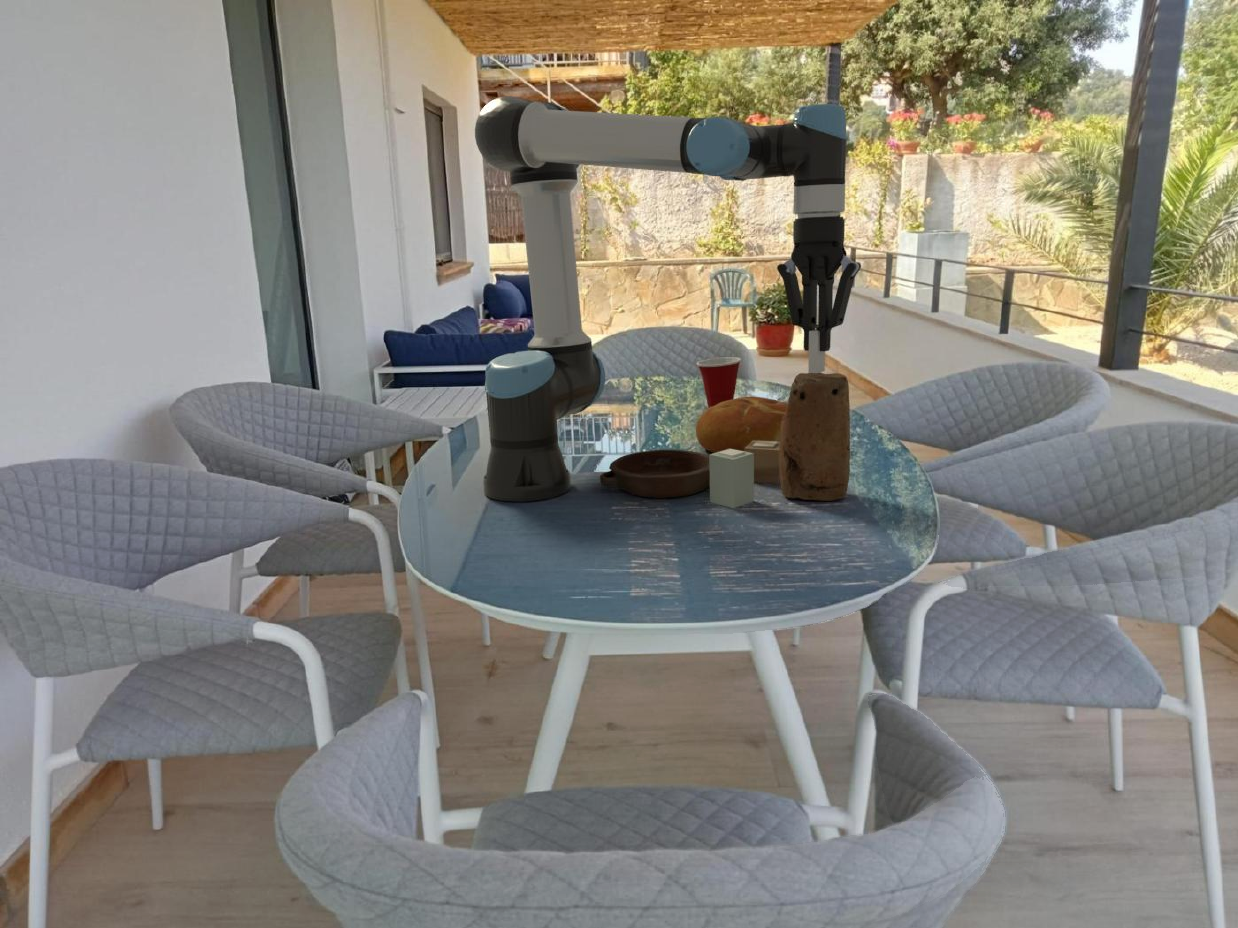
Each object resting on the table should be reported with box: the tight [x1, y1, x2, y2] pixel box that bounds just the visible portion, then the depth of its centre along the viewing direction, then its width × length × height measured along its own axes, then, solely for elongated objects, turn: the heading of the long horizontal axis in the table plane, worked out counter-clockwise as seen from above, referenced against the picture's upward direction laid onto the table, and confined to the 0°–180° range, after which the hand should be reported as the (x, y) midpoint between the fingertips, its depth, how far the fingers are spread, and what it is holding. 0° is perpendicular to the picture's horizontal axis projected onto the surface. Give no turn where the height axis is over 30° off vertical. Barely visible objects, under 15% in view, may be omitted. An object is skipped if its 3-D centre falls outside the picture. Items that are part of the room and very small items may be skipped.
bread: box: [695, 396, 788, 454], centre depth 174 cm, size 23×23×10 cm
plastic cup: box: [696, 356, 742, 409], centre depth 213 cm, size 11×11×12 cm
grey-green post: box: [708, 449, 755, 509], centre depth 141 cm, size 5×5×8 cm
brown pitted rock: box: [779, 372, 851, 502], centre depth 140 cm, size 11×8×20 cm
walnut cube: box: [744, 440, 780, 484], centre depth 153 cm, size 6×6×6 cm
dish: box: [599, 448, 710, 499], centre depth 150 cm, size 18×22×5 cm
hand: (816, 371), depth 137 cm, fingers closed
